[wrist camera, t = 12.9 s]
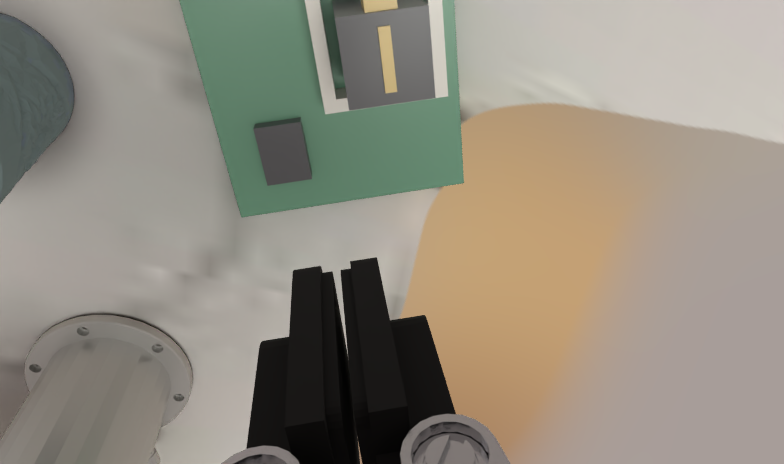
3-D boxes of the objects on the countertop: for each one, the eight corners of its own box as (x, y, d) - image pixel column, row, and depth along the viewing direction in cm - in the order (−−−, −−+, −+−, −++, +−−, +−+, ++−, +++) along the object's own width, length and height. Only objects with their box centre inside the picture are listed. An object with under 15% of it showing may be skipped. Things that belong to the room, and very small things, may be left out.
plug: (414, 67, 34) (435, 98, 28) (343, 77, 34) (349, 111, 28) (406, -22, 32) (428, -9, 26) (330, -11, 31) (332, 5, 25)
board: (460, 176, 40) (472, 197, 37) (243, 209, 40) (236, 234, 36) (438, -197, 29) (453, -212, 26) (139, -160, 29) (116, -171, 25)
